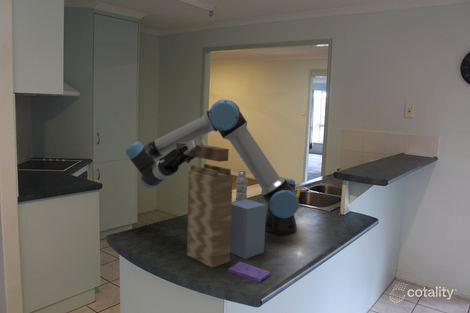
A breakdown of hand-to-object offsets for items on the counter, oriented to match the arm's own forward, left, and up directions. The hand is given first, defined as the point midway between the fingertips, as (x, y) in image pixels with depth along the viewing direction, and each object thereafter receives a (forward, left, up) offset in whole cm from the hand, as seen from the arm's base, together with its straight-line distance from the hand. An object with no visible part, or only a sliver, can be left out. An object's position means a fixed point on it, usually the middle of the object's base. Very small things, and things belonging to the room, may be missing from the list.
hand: (198, 143), depth 136 cm
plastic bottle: (-11, -64, -41) cm, 77 cm away
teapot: (-36, -74, -41) cm, 92 cm away
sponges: (-21, +14, -41) cm, 48 cm away
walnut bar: (-1, +1, -5) cm, 5 cm away
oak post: (-5, +4, -41) cm, 41 cm away
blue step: (-18, -5, -41) cm, 45 cm away
